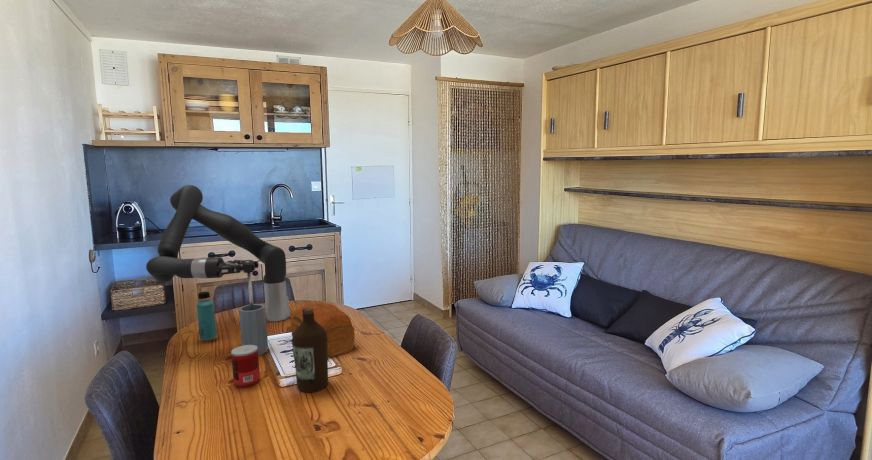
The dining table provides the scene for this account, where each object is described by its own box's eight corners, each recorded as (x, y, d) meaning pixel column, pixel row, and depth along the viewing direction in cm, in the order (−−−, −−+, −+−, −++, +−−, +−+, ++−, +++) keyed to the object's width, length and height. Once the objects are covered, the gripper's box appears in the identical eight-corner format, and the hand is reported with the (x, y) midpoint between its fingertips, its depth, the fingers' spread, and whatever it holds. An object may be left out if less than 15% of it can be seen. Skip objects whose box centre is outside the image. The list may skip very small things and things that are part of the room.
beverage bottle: (220, 337, 192) (216, 290, 189) (211, 344, 186) (206, 294, 183) (205, 337, 193) (201, 289, 190) (196, 343, 186) (190, 294, 183)
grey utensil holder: (261, 343, 185) (257, 301, 182) (276, 348, 179) (273, 305, 177) (236, 352, 177) (232, 308, 174) (251, 358, 171) (247, 313, 169)
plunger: (255, 320, 180) (250, 258, 176) (265, 323, 176) (260, 260, 173) (241, 325, 175) (235, 261, 172) (250, 328, 172) (245, 263, 168)
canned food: (265, 377, 155) (262, 345, 154) (248, 389, 148) (245, 355, 146) (246, 375, 158) (243, 343, 156) (228, 385, 150) (225, 352, 149)
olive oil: (307, 376, 156) (302, 302, 152) (336, 380, 152) (331, 304, 149) (288, 391, 146) (282, 312, 142) (318, 395, 142) (313, 315, 139)
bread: (319, 361, 167) (316, 318, 165) (288, 341, 187) (285, 302, 185) (359, 349, 177) (357, 308, 175) (326, 330, 198) (323, 294, 195)
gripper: (198, 261, 164) (249, 259, 165) (214, 253, 178) (261, 252, 179) (200, 282, 165) (251, 280, 166) (216, 273, 179) (263, 271, 180)
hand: (256, 265), depth 173 cm, fingers closed on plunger, 3 cm apart
